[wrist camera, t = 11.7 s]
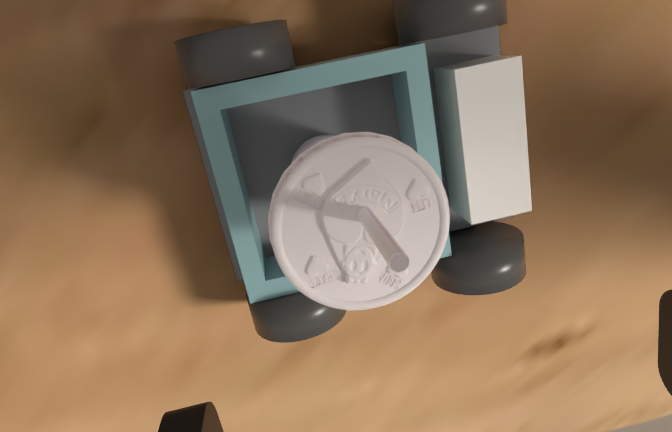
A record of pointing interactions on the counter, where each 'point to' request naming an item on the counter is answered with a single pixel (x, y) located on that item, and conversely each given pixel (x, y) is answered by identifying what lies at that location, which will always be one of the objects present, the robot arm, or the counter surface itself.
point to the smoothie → (358, 220)
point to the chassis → (365, 116)
